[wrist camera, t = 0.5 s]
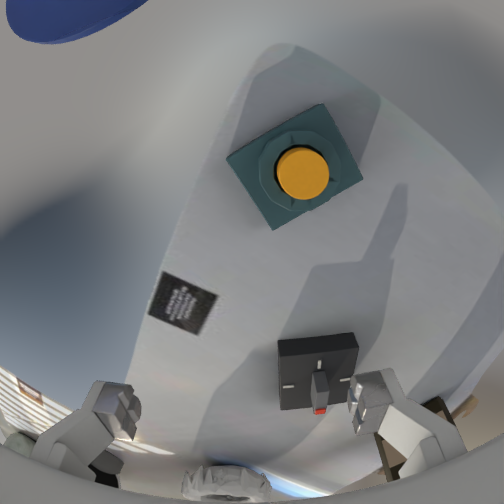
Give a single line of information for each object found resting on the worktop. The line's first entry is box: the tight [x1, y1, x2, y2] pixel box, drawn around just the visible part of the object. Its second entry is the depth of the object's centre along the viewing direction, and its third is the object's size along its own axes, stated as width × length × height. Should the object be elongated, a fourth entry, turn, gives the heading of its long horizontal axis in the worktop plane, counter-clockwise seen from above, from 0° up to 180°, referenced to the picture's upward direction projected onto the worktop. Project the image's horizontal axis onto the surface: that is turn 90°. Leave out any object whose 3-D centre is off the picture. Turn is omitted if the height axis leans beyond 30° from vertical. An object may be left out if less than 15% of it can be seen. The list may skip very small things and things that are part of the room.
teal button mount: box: [226, 103, 363, 230], centre depth 26 cm, size 10×8×4 cm
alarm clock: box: [87, 450, 124, 489], centre depth 48 cm, size 16×10×18 cm, turn 34°
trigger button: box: [277, 147, 329, 199], centre depth 23 cm, size 4×4×2 cm
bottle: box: [374, 396, 463, 482], centre depth 37 cm, size 8×16×25 cm, turn 122°
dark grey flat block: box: [278, 332, 359, 410], centre depth 38 cm, size 12×10×3 cm
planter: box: [3, 433, 36, 458], centre depth 55 cm, size 17×17×15 cm
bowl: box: [181, 465, 272, 503], centre depth 51 cm, size 21×20×10 cm
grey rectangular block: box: [310, 371, 329, 415], centre depth 35 cm, size 5×2×4 cm, turn 5°
